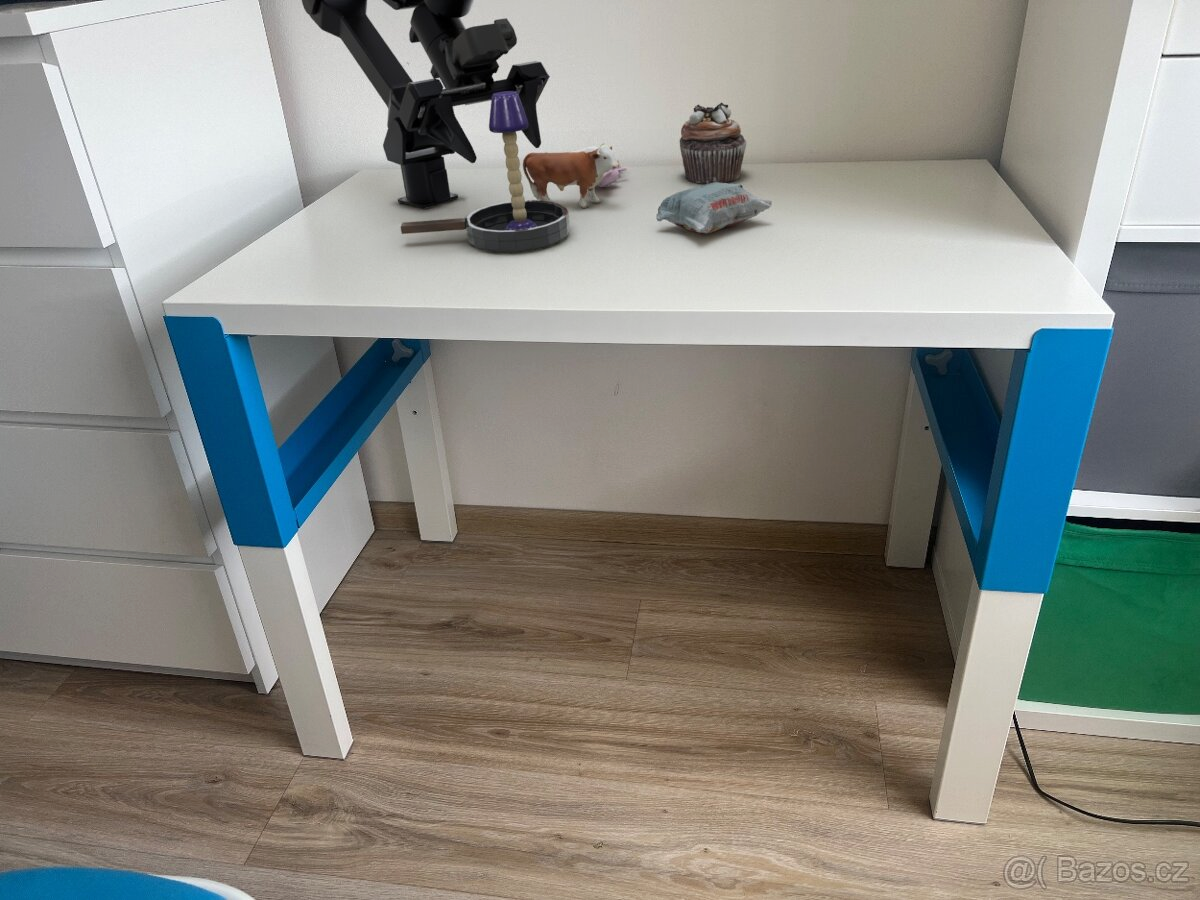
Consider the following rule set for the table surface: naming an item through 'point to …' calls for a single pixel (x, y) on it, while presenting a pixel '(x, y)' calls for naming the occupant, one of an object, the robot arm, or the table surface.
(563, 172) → the bull figurine
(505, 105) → the toy lamp
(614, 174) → the rabbit figure
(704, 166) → the cupcake
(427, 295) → the table surface
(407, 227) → the pan handle
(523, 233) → the pan
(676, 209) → the packaged food
